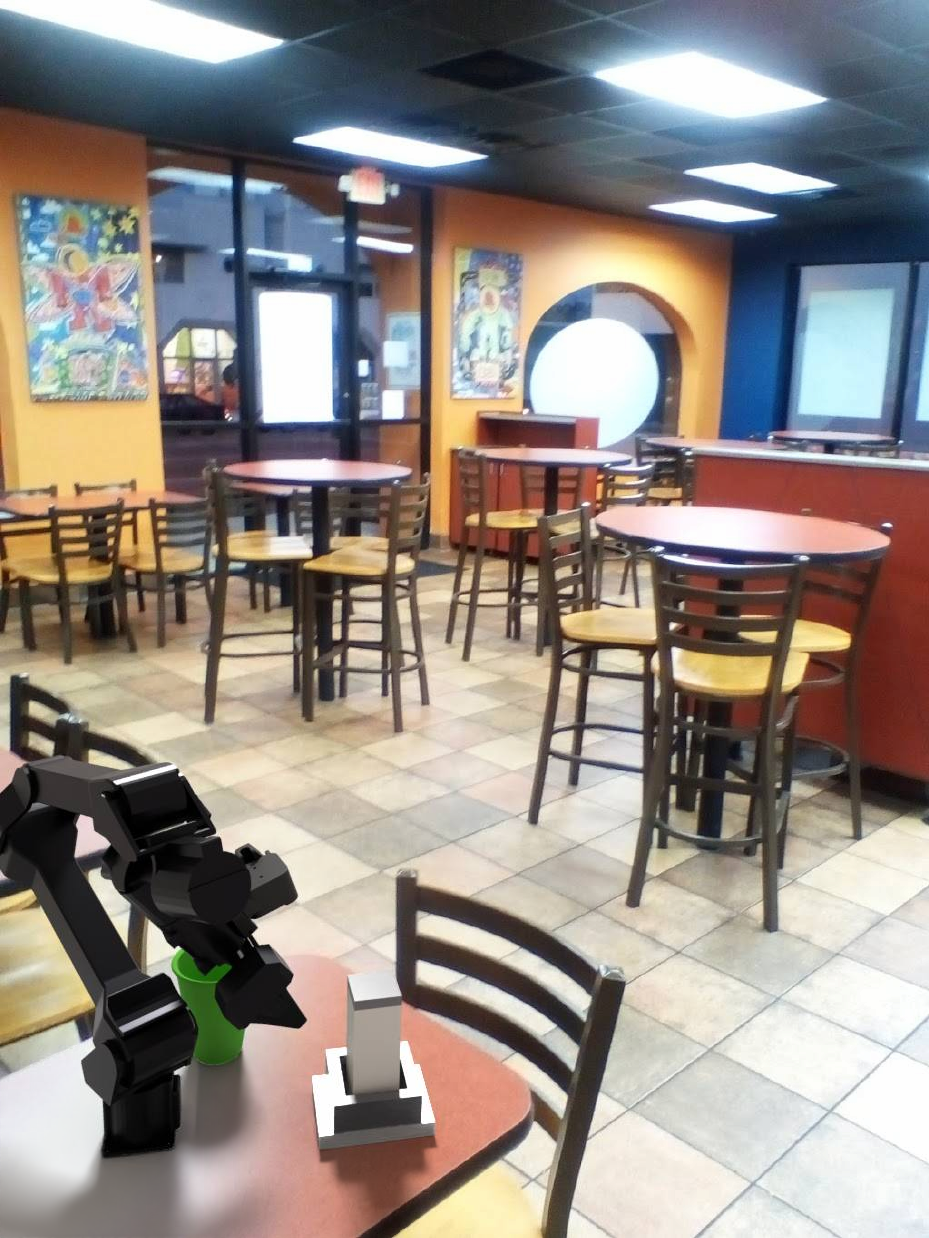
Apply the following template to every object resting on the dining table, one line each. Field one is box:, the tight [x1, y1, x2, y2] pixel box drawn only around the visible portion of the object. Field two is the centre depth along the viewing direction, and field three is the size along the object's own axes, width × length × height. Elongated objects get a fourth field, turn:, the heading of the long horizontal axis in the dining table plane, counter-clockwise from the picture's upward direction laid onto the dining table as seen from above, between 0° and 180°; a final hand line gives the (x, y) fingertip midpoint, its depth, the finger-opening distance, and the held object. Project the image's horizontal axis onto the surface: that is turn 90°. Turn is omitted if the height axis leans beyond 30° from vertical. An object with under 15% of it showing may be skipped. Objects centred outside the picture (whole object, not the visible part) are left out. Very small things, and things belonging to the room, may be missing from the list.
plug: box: [345, 969, 403, 1096], centre depth 99 cm, size 4×4×12 cm
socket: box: [312, 1040, 436, 1151], centre depth 100 cm, size 11×9×4 cm
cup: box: [170, 948, 246, 1066], centre depth 107 cm, size 9×9×11 cm
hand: (286, 998), depth 96 cm, fingers open, 9 cm apart
